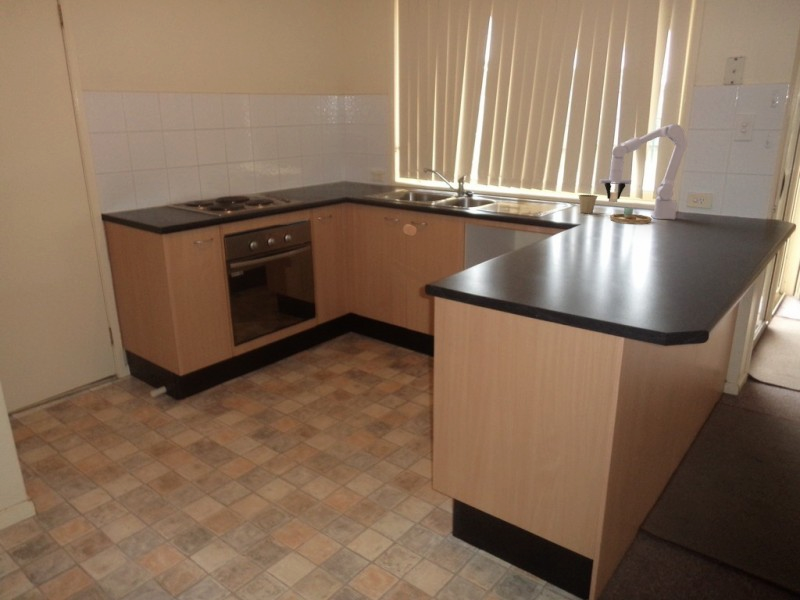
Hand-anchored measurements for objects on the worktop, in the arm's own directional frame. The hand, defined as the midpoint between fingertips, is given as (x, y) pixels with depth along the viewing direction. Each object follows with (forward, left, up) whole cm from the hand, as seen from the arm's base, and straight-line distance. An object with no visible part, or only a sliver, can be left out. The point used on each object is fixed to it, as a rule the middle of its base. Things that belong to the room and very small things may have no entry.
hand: (613, 198), depth 296 cm
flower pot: (+11, -7, -9) cm, 16 cm away
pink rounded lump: (+92, +69, -6) cm, 115 cm away
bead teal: (-6, +9, -8) cm, 13 cm away
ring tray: (-6, +14, -8) cm, 17 cm away
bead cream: (0, 0, -2) cm, 2 cm away
